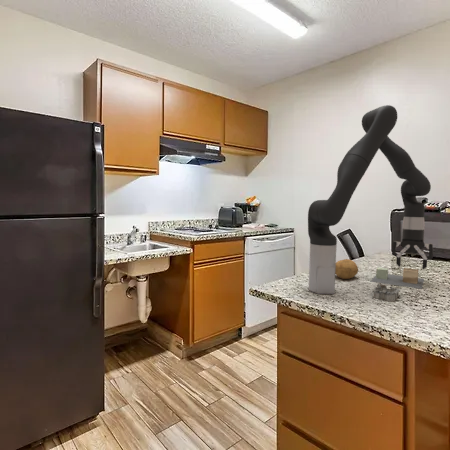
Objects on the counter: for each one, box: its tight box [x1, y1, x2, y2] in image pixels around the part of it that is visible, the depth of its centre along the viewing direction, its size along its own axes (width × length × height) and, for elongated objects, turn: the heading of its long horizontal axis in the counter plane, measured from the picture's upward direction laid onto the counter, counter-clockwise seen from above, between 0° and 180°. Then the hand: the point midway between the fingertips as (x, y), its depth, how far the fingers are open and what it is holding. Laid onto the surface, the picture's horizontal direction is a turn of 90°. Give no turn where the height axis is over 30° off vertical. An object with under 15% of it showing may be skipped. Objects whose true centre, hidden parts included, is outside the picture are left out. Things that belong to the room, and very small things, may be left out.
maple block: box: [402, 267, 419, 284], centre depth 126 cm, size 5×5×5 cm
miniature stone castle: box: [372, 282, 401, 302], centre depth 106 cm, size 10×7×4 cm
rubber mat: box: [370, 273, 425, 290], centre depth 129 cm, size 20×18×1 cm
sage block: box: [375, 267, 389, 280], centre depth 132 cm, size 4×4×4 cm
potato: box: [335, 258, 359, 280], centre depth 131 cm, size 10×14×8 cm
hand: (411, 267), depth 126 cm, fingers open, 8 cm apart
